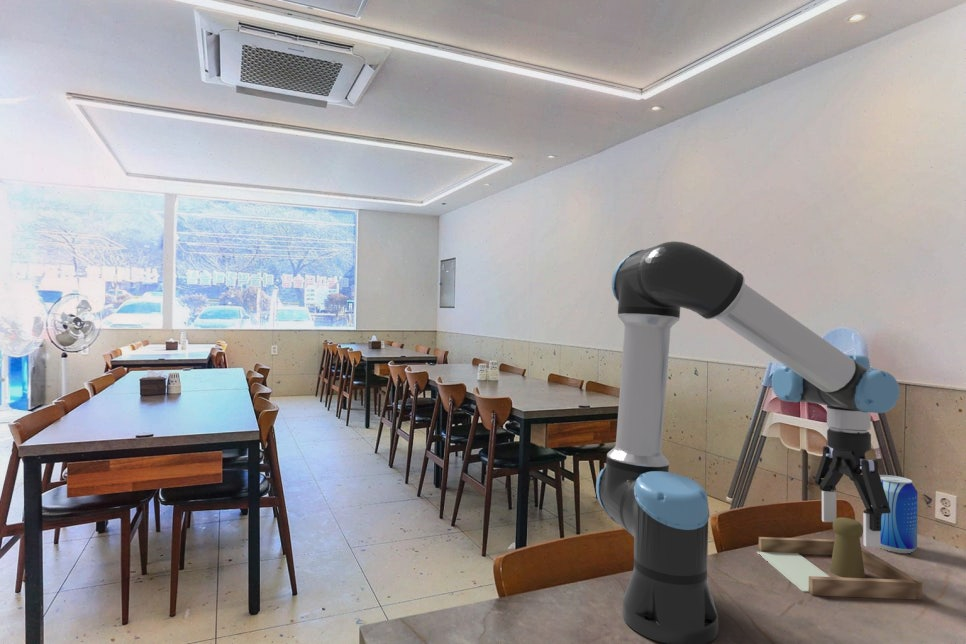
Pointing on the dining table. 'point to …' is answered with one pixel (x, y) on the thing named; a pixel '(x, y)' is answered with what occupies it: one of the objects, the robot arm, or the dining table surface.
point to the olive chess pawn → (847, 549)
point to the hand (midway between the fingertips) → (849, 533)
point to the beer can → (899, 515)
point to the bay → (888, 587)
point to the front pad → (793, 568)
